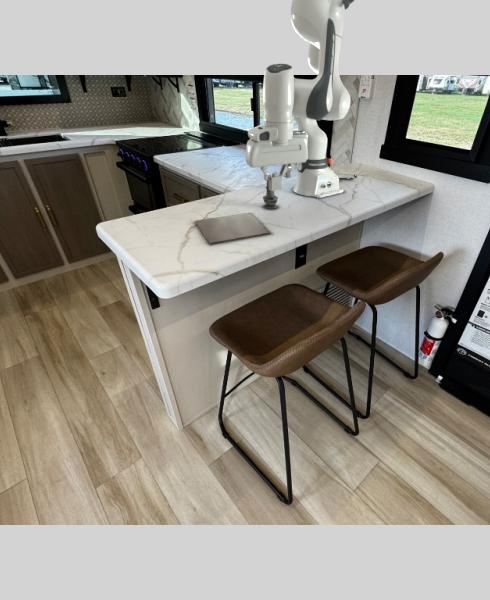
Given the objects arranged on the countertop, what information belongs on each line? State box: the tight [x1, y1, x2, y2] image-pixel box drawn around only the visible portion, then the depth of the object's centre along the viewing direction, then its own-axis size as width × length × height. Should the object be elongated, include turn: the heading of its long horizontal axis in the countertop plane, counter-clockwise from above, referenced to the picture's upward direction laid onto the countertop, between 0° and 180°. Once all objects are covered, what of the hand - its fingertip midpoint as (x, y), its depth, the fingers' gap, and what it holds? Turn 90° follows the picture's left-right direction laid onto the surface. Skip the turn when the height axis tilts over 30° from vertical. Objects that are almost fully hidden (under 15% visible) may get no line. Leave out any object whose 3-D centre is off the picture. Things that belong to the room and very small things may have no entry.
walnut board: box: [194, 212, 271, 246], centre depth 105 cm, size 20×18×1 cm
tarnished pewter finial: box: [262, 174, 279, 210], centre depth 118 cm, size 6×6×12 cm
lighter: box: [269, 164, 289, 192], centre depth 103 cm, size 7×2×8 cm, turn 127°
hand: (277, 178), depth 103 cm, fingers closed on lighter, 6 cm apart
